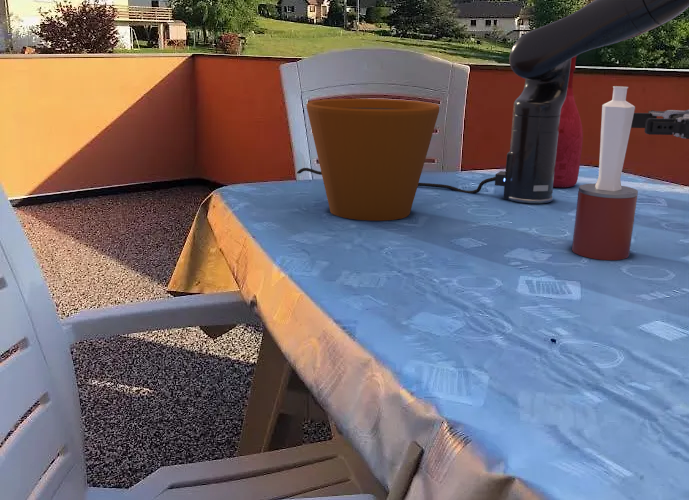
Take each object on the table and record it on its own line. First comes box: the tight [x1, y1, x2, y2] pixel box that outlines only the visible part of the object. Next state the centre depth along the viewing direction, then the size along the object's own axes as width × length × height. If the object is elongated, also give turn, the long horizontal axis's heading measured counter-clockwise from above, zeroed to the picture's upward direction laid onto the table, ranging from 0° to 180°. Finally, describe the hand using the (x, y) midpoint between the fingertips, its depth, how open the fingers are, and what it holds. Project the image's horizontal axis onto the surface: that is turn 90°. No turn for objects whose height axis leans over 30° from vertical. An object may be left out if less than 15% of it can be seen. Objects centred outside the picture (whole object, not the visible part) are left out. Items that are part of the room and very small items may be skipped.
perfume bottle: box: [595, 85, 636, 191], centre depth 105 cm, size 5×4×15 cm
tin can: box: [571, 183, 639, 261], centre depth 108 cm, size 8×8×10 cm
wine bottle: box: [553, 56, 584, 189], centre depth 159 cm, size 10×10×30 cm
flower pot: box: [306, 98, 440, 222], centre depth 130 cm, size 24×24×20 cm
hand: (634, 123), depth 104 cm, fingers open, 8 cm apart
